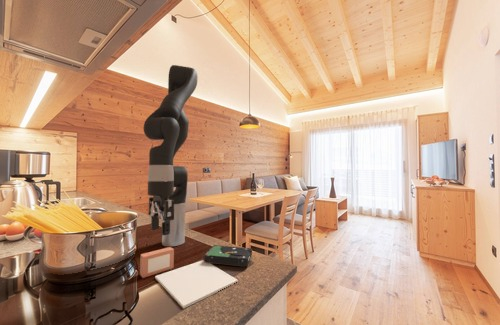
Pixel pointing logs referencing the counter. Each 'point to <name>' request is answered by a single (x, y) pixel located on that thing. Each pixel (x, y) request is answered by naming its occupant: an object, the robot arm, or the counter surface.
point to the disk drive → (228, 255)
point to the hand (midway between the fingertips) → (160, 231)
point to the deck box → (156, 261)
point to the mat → (194, 282)
